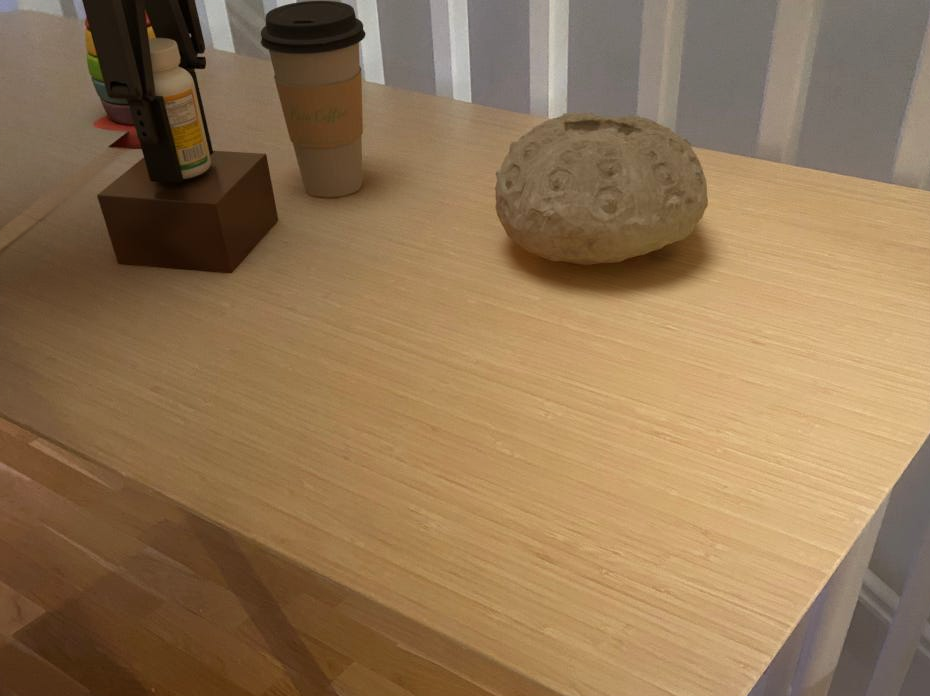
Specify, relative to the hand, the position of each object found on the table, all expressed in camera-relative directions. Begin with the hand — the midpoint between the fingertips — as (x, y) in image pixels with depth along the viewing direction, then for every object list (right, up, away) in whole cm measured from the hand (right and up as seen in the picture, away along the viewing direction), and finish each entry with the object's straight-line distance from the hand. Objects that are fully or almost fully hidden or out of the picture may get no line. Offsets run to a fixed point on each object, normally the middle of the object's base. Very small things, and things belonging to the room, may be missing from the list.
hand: (182, 166), depth 85 cm
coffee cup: (+11, +4, +13) cm, 17 cm away
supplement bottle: (0, 0, 0) cm, 1 cm away
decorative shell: (+36, -6, +1) cm, 37 cm away
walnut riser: (0, -5, +5) cm, 7 cm away
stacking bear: (-11, +16, +25) cm, 32 cm away
